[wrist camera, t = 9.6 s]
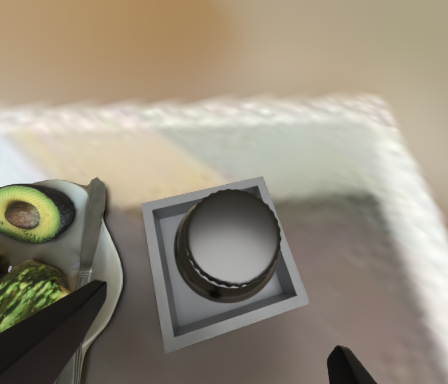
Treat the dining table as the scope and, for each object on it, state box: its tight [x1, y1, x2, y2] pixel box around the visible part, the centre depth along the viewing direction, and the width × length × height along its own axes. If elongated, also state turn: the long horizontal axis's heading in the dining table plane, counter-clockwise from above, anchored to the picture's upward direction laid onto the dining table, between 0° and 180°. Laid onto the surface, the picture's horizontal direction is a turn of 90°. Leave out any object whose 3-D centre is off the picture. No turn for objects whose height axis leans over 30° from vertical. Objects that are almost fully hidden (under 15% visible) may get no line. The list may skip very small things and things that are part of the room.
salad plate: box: [0, 177, 123, 384], centre depth 18 cm, size 19×18×5 cm
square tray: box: [141, 176, 310, 354], centre depth 20 cm, size 12×12×4 cm
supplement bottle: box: [173, 189, 282, 304], centre depth 16 cm, size 7×7×12 cm
